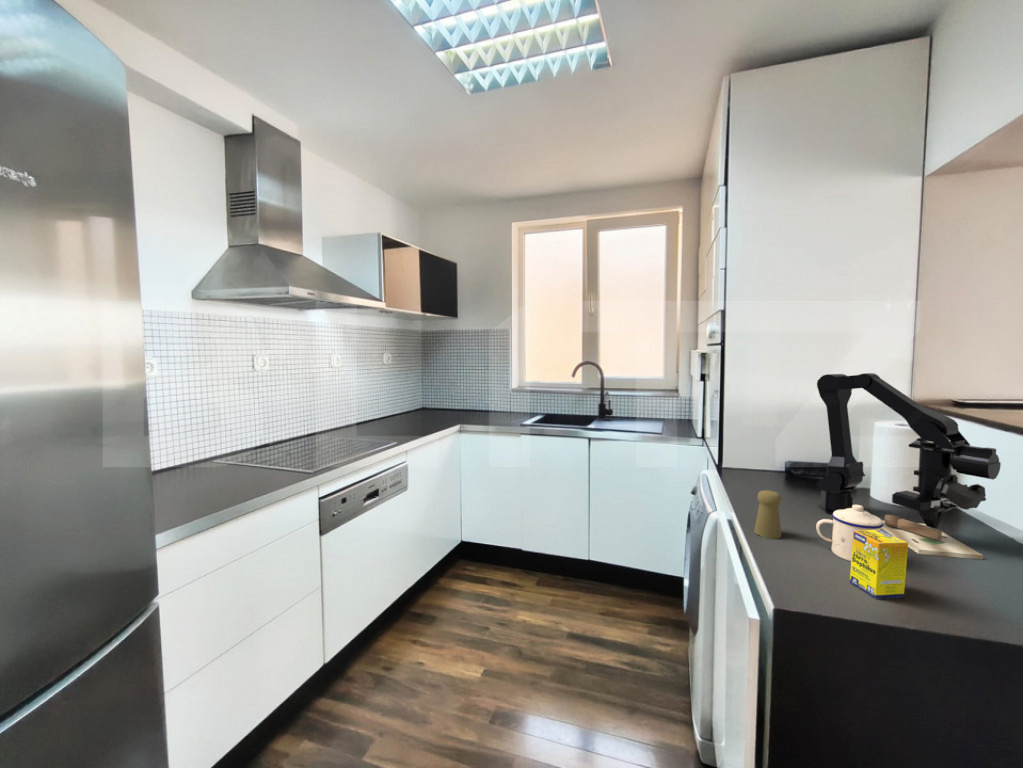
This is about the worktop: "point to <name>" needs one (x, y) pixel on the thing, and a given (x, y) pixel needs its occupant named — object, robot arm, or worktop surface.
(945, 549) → the dial plate
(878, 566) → the supplement box
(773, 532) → the cork
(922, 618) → the worktop surface
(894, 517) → the walnut lever
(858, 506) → the teacup with lid
